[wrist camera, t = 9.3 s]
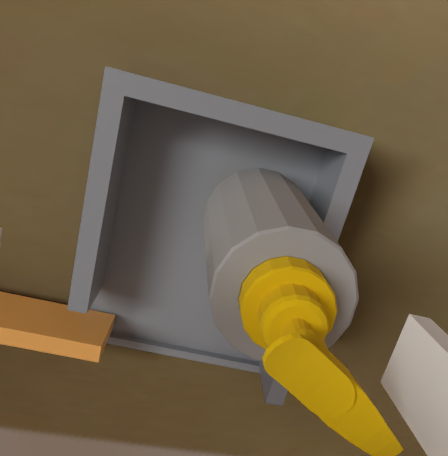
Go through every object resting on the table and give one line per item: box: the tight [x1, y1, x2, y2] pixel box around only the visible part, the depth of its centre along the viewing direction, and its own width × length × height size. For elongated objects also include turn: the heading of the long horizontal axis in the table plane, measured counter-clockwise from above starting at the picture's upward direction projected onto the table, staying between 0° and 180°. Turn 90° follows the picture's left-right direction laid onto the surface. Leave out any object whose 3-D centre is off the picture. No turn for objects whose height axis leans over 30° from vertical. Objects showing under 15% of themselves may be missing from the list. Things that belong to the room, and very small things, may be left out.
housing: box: [67, 66, 374, 406], centre depth 27 cm, size 15×19×5 cm
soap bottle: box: [203, 168, 404, 456], centre depth 19 cm, size 7×7×18 cm
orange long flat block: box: [0, 292, 115, 362], centre depth 27 cm, size 12×1×4 cm, turn 76°
